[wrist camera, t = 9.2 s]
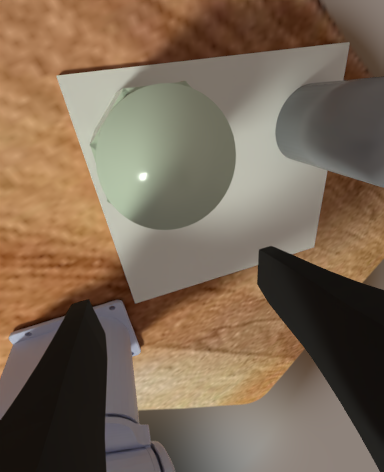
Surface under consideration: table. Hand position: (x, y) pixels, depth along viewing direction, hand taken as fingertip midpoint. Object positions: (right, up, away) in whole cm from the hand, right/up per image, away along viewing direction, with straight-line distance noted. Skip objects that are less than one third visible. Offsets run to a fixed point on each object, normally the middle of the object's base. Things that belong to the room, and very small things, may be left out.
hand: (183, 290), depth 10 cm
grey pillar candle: (+10, +11, +9) cm, 17 cm away
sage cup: (-3, +9, +6) cm, 11 cm away
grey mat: (+3, +6, +10) cm, 12 cm away
